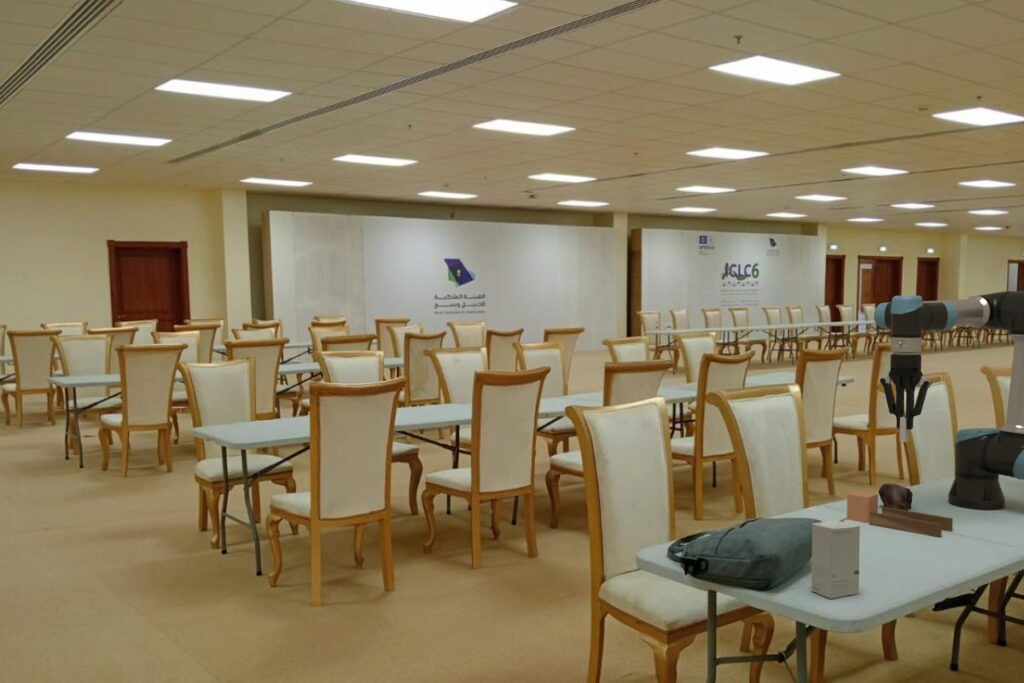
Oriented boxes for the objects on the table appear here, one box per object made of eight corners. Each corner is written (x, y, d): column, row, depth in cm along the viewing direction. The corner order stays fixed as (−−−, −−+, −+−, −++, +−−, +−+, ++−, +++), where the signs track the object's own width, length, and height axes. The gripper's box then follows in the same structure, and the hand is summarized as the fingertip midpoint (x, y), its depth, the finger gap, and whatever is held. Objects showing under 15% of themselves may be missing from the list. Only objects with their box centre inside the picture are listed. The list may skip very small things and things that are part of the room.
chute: (857, 516, 247) (857, 501, 246) (954, 534, 228) (954, 517, 228) (838, 524, 238) (838, 508, 238) (937, 543, 220) (937, 525, 219)
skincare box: (830, 600, 179) (831, 529, 178) (809, 591, 184) (810, 522, 184) (860, 594, 182) (861, 524, 181) (839, 585, 188) (840, 518, 187)
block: (856, 515, 244) (856, 490, 243) (877, 518, 239) (877, 494, 239) (846, 519, 239) (847, 494, 239) (868, 522, 235) (868, 497, 235)
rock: (917, 515, 253) (881, 509, 259) (919, 486, 253) (883, 481, 259) (908, 517, 243) (871, 511, 249) (910, 487, 244) (873, 481, 250)
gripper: (875, 353, 231) (874, 440, 233) (926, 355, 222) (924, 445, 223) (886, 351, 237) (885, 437, 238) (936, 353, 227) (935, 442, 228)
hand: (904, 441), depth 230 cm, fingers closed
